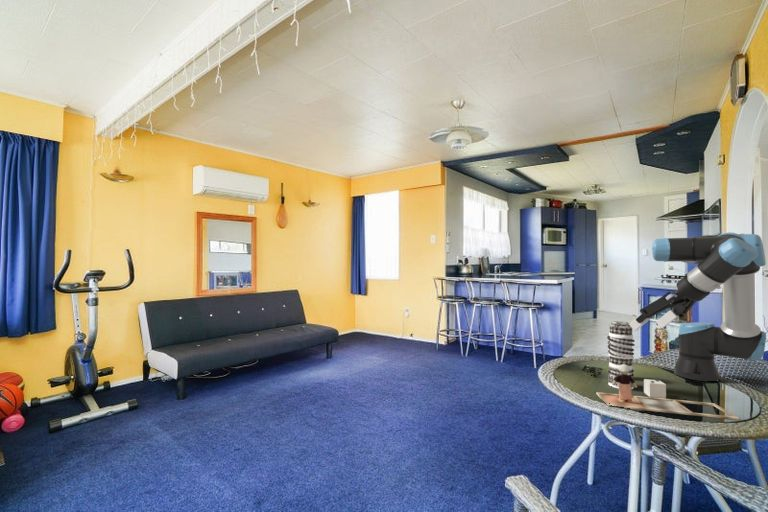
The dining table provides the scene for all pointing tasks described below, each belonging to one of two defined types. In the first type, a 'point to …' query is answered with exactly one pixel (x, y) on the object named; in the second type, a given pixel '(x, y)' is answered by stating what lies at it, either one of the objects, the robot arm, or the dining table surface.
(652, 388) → the ivory die
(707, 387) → the dining table surface
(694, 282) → the robot arm
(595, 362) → the dining table surface
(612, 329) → the decorative candle
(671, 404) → the wooden flat rectangular frame
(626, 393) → the grandmother figurine
